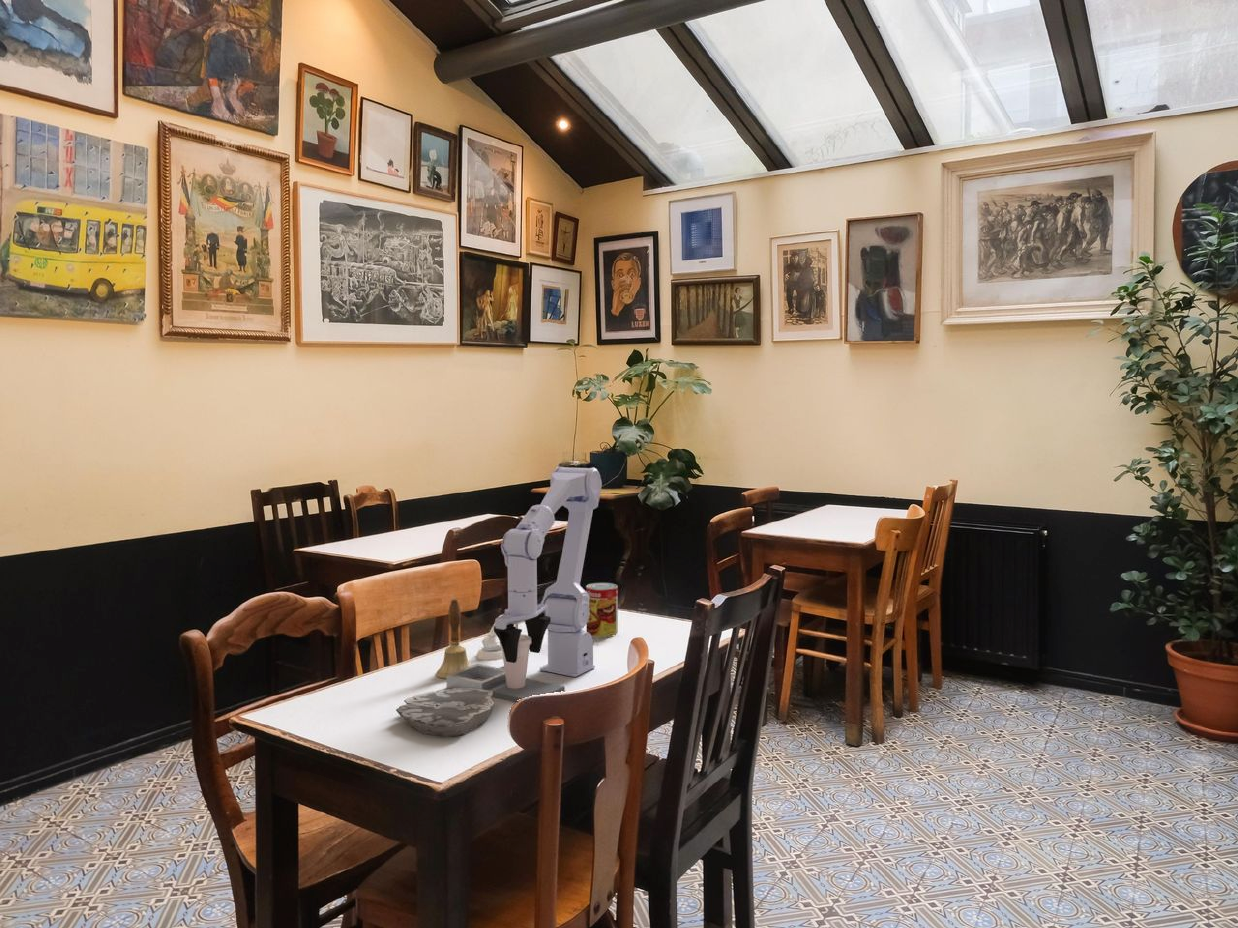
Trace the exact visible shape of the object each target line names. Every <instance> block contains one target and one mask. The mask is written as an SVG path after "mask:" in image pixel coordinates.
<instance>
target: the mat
mask: <svg viewBox="0 0 1238 928" xmlns="http://www.w3.org/2000/svg"><path fill="white" fill-rule="evenodd" d="M565 689H566V687H565V686H564V685H559V684H556V683H550V682H546V681H541V680H535V679H532V678H527V677H526V682H525V686H524V687H522V688H518V689H512V688H508V687H507V684H505V685H502V686H500V687H498V688H495V689H493V690H491V691H492V692H493V698H498V699H502V700H505V701H511V702H516V701H517V700H519V699H522V698H525V697H529V696H532V695H540V694H546V693H554V692H561V691H564V692H565V691H566V690H565ZM516 703H517V702H516Z"/></svg>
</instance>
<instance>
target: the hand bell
mask: <svg viewBox="0 0 1238 928" xmlns="http://www.w3.org/2000/svg"><path fill="white" fill-rule="evenodd" d="M461 617H462V613H461V608H460V605H459V601H458V599H455V598H454V599H451V601H450V605H449V607H448V622H449V625H450V637H451V638H450V646H447V648H445V649H444V655H443V660H442V664H441V666H440V667H439V668H438V669H437V671H436V673H435V675H436V677H437V678H439V679H444V680H446V676H447V675H449V674H452V673H454V672H457V671H460V670H462V669H465V668H467V667H470V666H472V665H471V663H470V662H469V660H468V655H467V649H466V647H464V646H463V645H460V638H459V637H460V632H459V631H460V629H459V627H460V624H461Z"/></svg>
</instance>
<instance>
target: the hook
mask: <svg viewBox="0 0 1238 928" xmlns="http://www.w3.org/2000/svg"><path fill="white" fill-rule="evenodd" d="M503 614H504V613H503ZM503 614H501V615H499V616H498V617H500V616H502V615H503ZM494 626H495V622H494V624H493V625H492V627H491V629H490V630H489V633H488V634H487V635H486V636H484V638H483V639H482V641H481V643H482V646H481V647H479V649H478V650H477V653H476V655H475V657H476V658H477V657H478V658H477V659H479V660H484V661H498V660H503V655H502V647H501V645H500V644H498V643H499V639H498V637H497V635H496V633H495V632H494ZM486 651H487V652H486Z"/></svg>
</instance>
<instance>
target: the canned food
mask: <svg viewBox="0 0 1238 928" xmlns="http://www.w3.org/2000/svg"><path fill="white" fill-rule="evenodd" d="M585 587H586V590H585V591H586V592H587V594H588V595H589V597H590V598H589V599H590V600H589V611H590V613H589V619H588V622H587V624H586V625H585V626H586V631H585V632H588V633H590V634H591V636H592V638H609V637H608V636H611V637H614V636H613V635H615V636H617V635H618V634H617V633H618V632H619V623H618V622H619V621H618V620H619V617H618V616H619V615H618V614H619V611H618V609H619V607H618V606H619V605H618V602H619V600H618V599H619V598H618V597H619V595H618V594H619V588H618V587H619V586H618V585H617V584H615V583H613V582H593V583H588V584H587V585H585ZM616 634H617V635H616Z"/></svg>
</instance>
